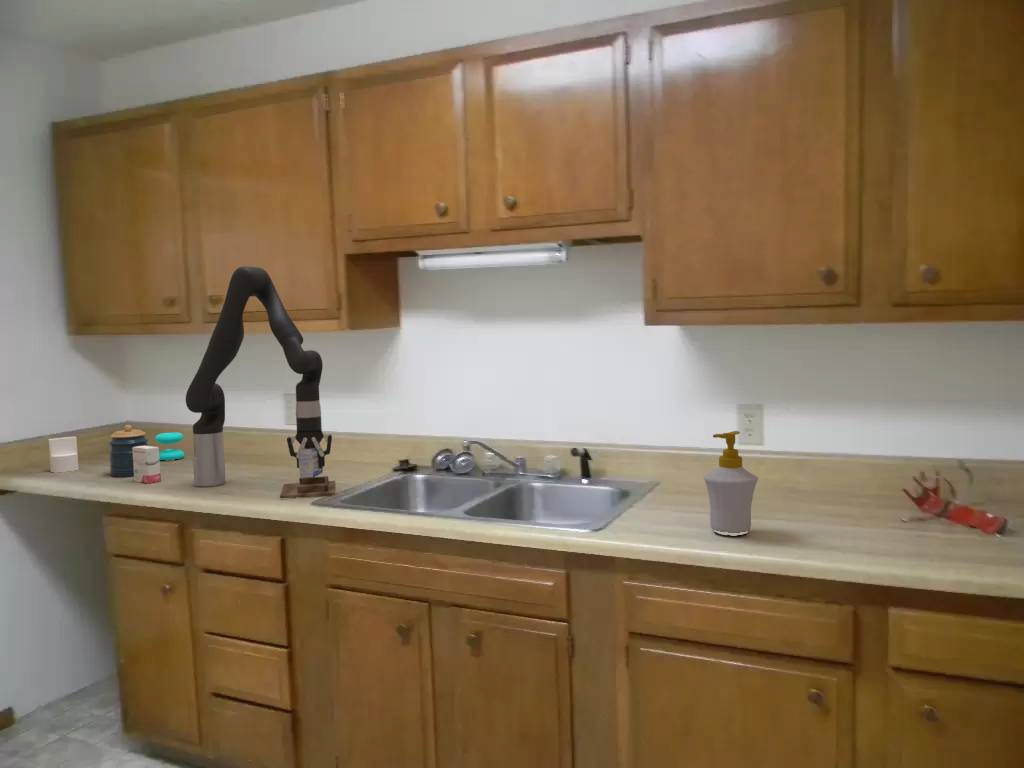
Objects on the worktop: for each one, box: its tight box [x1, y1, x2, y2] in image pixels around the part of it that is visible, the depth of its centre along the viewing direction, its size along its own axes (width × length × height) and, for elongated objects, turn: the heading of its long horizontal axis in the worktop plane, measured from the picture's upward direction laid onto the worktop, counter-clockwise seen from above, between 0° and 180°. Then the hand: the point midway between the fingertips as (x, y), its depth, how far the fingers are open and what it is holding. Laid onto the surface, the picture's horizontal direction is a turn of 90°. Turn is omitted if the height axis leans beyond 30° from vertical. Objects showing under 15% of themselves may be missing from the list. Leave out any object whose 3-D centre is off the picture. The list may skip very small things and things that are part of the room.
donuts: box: [155, 431, 185, 461], centre depth 318 cm, size 10×10×10 cm
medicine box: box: [297, 447, 324, 478], centre depth 254 cm, size 8×4×9 cm, turn 170°
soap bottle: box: [703, 430, 759, 533], centre depth 197 cm, size 13×13×25 cm
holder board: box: [279, 475, 336, 499], centre depth 255 cm, size 16×18×3 cm
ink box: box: [132, 445, 162, 484], centre depth 275 cm, size 9×5×12 cm, turn 57°
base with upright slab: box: [48, 436, 79, 473], centre depth 298 cm, size 9×9×12 cm
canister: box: [108, 424, 150, 478], centre depth 289 cm, size 13×13×18 cm
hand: (311, 468), depth 254 cm, fingers closed on medicine box, 5 cm apart
